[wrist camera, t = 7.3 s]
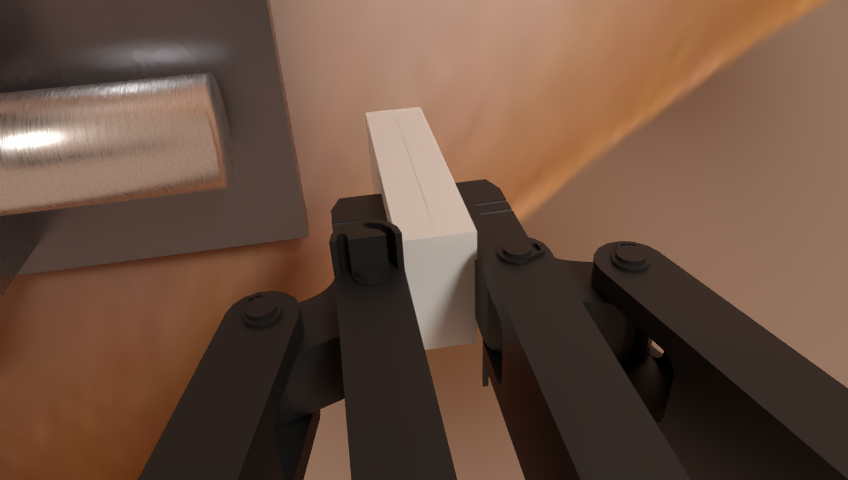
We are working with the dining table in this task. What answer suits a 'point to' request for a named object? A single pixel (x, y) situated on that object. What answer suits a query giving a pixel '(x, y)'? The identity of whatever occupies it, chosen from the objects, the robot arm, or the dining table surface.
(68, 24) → the grey mechanical fixture
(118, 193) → the air tube
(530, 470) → the robot arm
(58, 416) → the dining table surface
